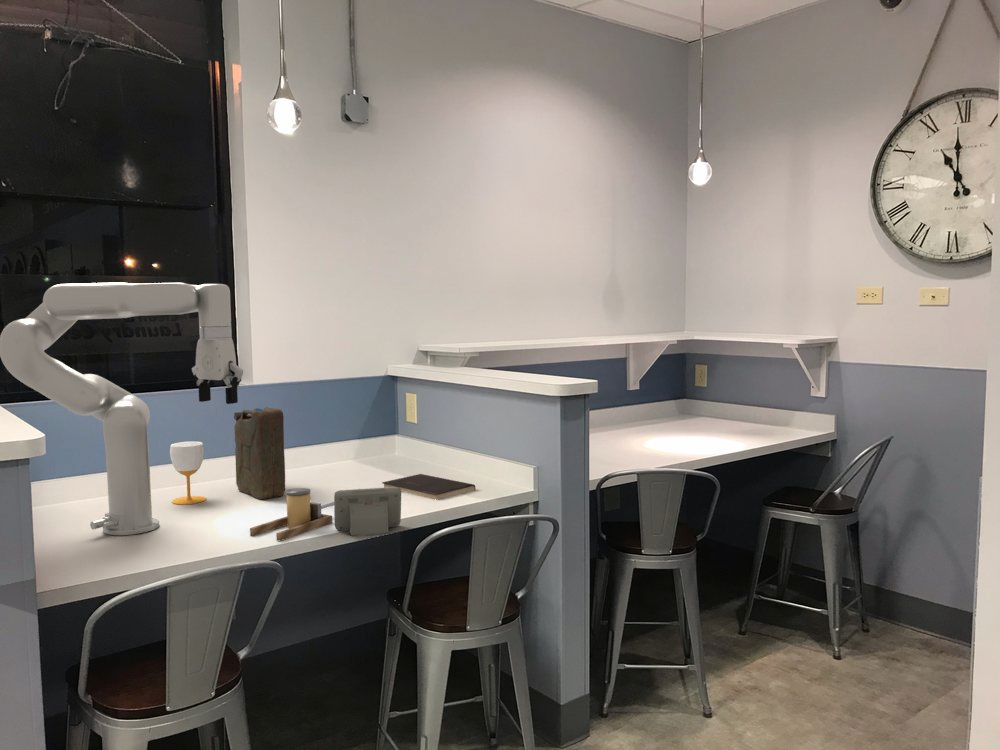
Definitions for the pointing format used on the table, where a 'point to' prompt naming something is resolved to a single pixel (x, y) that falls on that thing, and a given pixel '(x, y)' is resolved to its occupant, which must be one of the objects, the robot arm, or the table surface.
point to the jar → (298, 507)
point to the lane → (292, 531)
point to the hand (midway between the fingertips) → (218, 402)
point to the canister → (260, 452)
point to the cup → (187, 466)
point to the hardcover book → (429, 486)
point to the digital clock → (367, 510)
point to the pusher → (318, 509)
